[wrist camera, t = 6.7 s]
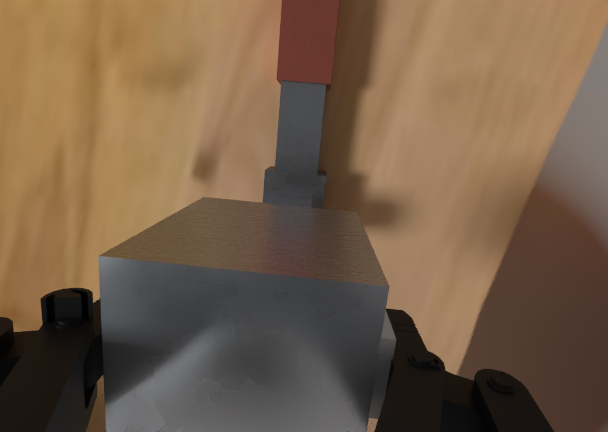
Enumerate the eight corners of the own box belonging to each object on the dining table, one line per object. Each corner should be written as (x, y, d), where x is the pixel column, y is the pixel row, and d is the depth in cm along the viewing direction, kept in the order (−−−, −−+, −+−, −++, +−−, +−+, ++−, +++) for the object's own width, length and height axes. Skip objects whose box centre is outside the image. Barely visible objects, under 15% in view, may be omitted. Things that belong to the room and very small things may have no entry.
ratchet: (264, 241, 34) (250, 269, 27) (285, -51, 28) (274, -109, 22) (318, 246, 34) (317, 275, 27) (348, -46, 28) (358, -102, 22)
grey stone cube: (199, 334, 18) (108, 486, 10) (203, 196, 17) (98, 256, 9) (339, 349, 18) (353, 516, 10) (357, 212, 16) (389, 286, 9)
